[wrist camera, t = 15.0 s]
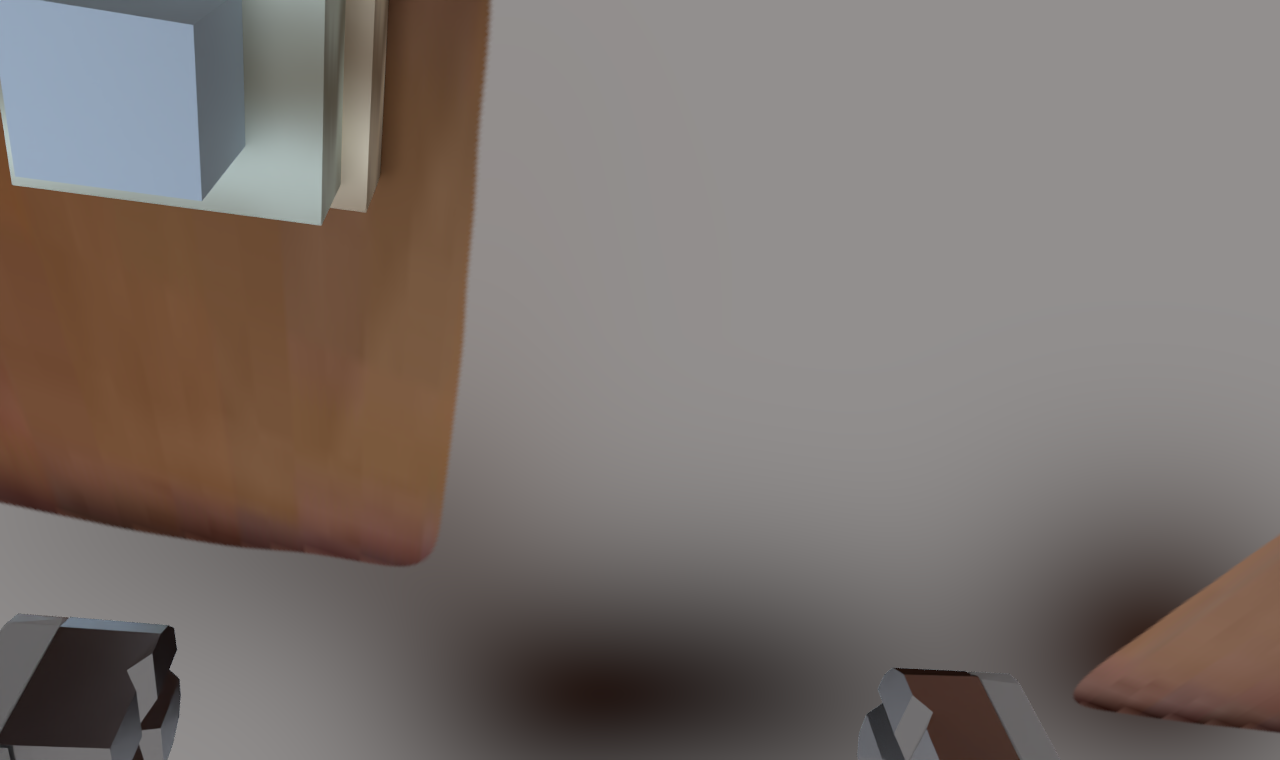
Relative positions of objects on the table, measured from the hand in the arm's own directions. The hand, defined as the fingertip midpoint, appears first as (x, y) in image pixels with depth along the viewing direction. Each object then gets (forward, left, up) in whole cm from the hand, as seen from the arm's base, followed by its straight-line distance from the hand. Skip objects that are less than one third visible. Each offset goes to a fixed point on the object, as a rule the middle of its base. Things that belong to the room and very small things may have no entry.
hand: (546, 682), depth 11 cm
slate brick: (+1, -12, -25) cm, 28 cm away
